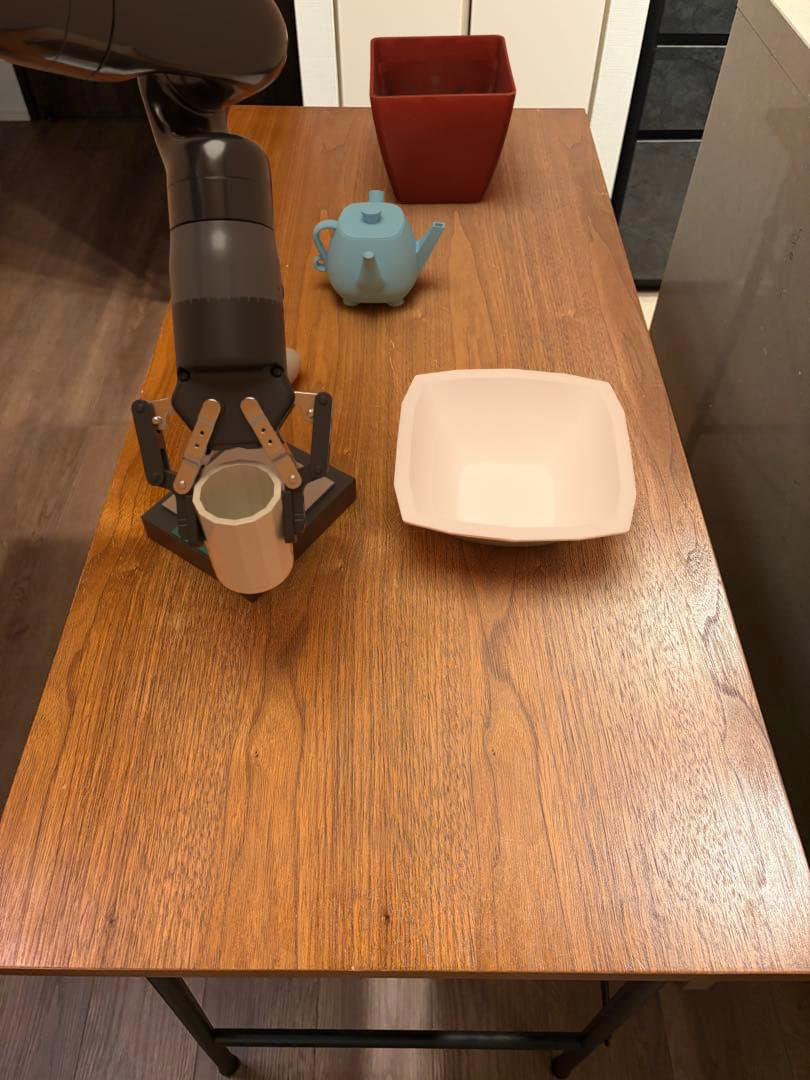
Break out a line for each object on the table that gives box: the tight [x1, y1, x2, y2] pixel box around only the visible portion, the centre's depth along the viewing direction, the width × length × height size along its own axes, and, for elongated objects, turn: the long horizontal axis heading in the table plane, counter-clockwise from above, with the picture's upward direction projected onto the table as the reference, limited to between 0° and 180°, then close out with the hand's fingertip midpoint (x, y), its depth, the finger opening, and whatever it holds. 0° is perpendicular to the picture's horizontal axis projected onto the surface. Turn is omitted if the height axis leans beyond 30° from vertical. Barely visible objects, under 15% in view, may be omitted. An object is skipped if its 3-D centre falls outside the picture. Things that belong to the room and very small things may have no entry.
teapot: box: [312, 189, 446, 307], centre depth 106 cm, size 15×14×11 cm
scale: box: [140, 441, 358, 603], centre depth 84 cm, size 16×14×3 cm
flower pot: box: [368, 34, 517, 204], centre depth 121 cm, size 19×19×17 cm
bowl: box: [393, 368, 638, 548], centre depth 83 cm, size 22×23×8 cm
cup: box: [192, 459, 295, 594], centre depth 61 cm, size 6×6×8 cm
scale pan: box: [162, 447, 335, 516], centre depth 83 cm, size 12×12×1 cm
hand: (244, 543), depth 60 cm, fingers closed on cup, 6 cm apart
